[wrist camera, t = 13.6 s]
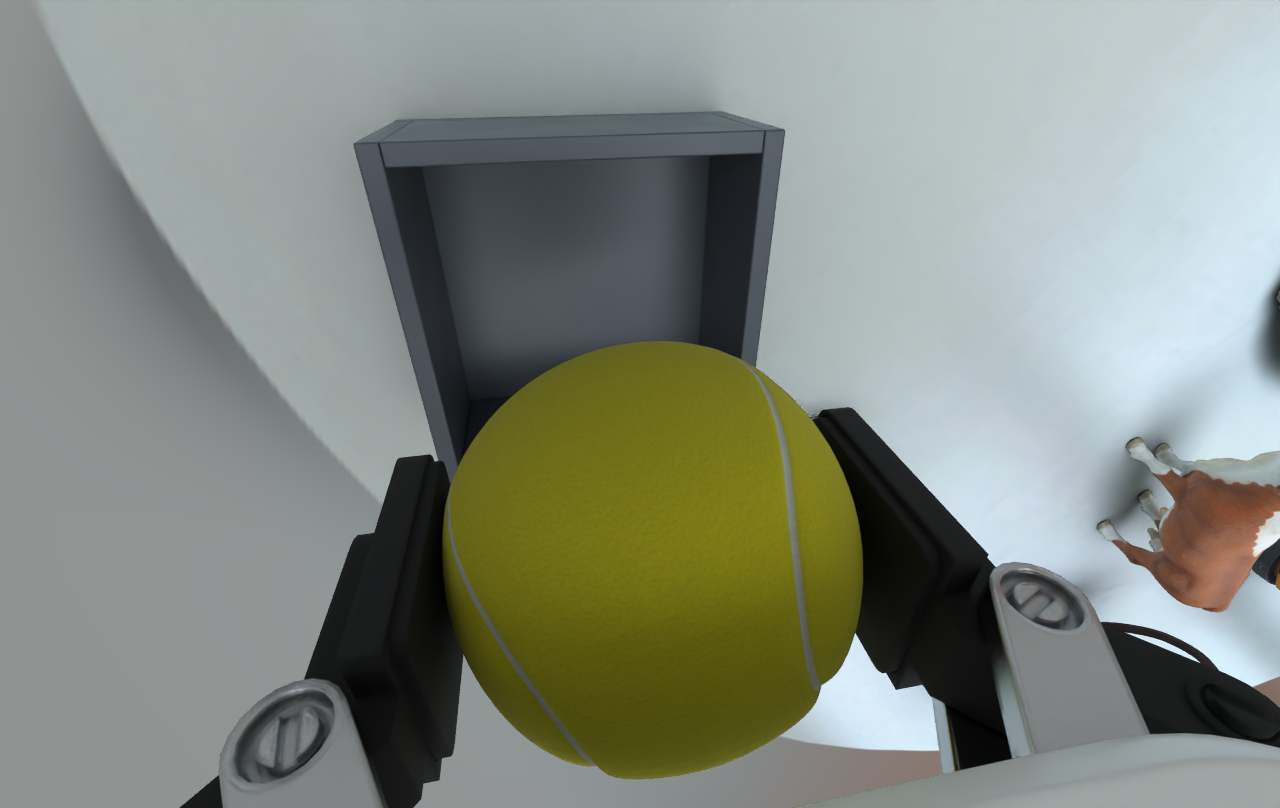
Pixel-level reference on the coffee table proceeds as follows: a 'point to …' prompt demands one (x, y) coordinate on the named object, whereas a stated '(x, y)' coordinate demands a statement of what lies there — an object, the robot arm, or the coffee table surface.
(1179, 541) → the bull figurine
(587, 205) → the bin
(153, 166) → the coffee table surface
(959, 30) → the coffee table surface
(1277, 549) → the canister
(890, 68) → the coffee table surface
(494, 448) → the tennis ball
